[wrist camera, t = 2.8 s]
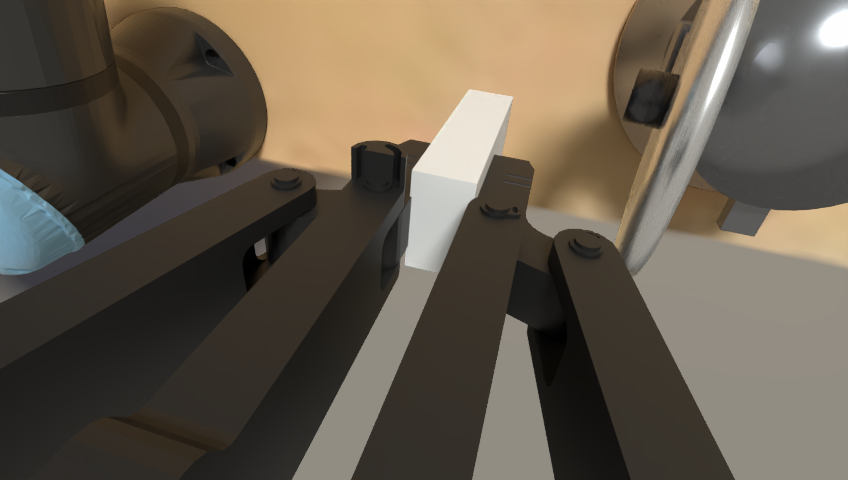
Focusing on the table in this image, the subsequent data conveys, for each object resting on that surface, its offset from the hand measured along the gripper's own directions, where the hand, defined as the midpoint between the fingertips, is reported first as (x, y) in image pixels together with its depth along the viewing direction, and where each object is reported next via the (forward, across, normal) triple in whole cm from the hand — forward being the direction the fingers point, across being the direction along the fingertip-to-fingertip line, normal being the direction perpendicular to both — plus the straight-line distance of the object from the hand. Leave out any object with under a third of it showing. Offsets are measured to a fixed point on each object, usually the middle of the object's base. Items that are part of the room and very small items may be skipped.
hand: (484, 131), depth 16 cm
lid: (+6, +8, 0) cm, 10 cm away
